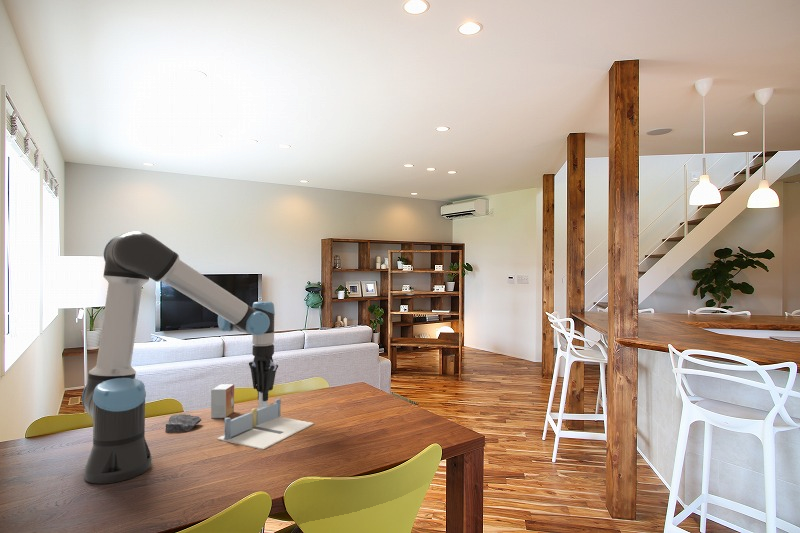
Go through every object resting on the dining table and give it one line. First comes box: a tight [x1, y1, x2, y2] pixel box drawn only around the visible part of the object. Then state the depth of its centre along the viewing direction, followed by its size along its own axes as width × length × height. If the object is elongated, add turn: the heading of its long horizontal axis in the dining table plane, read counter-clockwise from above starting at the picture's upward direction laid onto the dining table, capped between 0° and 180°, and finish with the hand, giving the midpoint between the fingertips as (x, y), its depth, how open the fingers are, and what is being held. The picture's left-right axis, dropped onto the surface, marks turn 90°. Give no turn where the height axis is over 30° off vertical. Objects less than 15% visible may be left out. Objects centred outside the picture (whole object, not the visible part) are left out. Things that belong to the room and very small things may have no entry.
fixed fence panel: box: [224, 412, 252, 440], centre depth 143 cm, size 11×2×7 cm, turn 155°
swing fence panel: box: [251, 398, 282, 427], centre depth 155 cm, size 14×2×6 cm, turn 155°
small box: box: [210, 383, 235, 419], centre depth 164 cm, size 8×6×10 cm
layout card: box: [216, 416, 314, 451], centre depth 147 cm, size 25×19×1 cm
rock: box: [165, 413, 202, 433], centre depth 150 cm, size 8×10×4 cm
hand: (262, 409), depth 160 cm, fingers closed
